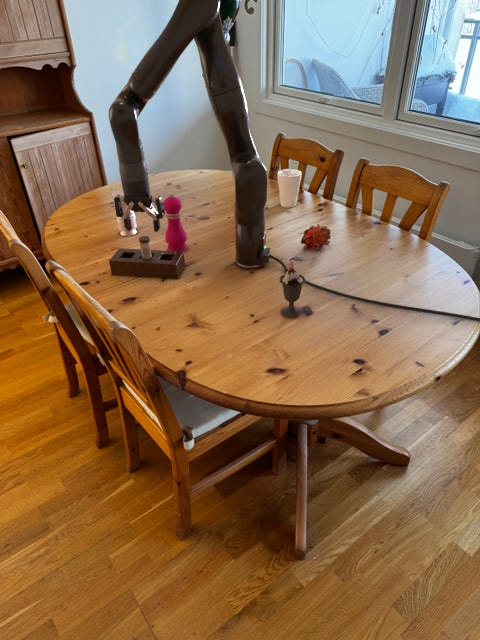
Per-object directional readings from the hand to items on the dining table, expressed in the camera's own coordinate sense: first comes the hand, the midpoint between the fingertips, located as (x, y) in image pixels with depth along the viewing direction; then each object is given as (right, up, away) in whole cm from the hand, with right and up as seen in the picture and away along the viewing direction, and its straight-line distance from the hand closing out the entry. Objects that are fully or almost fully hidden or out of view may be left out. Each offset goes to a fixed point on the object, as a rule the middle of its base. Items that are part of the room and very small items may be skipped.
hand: (143, 230), depth 138 cm
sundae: (+43, -25, -14) cm, 51 cm away
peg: (0, -11, +8) cm, 14 cm away
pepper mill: (+8, -3, +19) cm, 21 cm away
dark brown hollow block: (0, -11, +8) cm, 14 cm away
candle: (-12, +5, +32) cm, 35 cm away
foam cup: (+49, +20, +51) cm, 74 cm away
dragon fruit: (+54, -3, +18) cm, 57 cm away
